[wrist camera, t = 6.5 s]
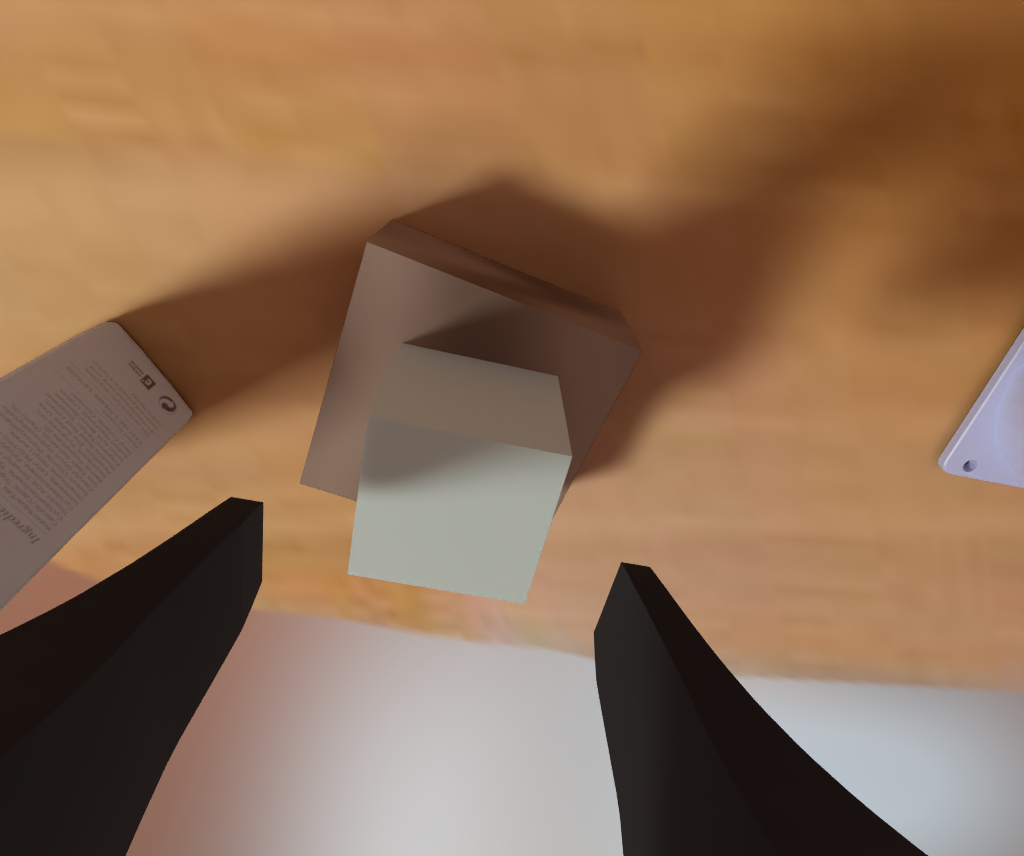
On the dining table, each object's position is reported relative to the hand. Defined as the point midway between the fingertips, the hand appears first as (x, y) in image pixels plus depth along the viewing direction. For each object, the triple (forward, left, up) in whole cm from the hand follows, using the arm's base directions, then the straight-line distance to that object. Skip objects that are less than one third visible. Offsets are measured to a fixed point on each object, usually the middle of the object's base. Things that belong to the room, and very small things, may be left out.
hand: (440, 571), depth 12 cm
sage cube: (0, 0, -6) cm, 7 cm away
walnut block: (0, 0, -10) cm, 11 cm away
